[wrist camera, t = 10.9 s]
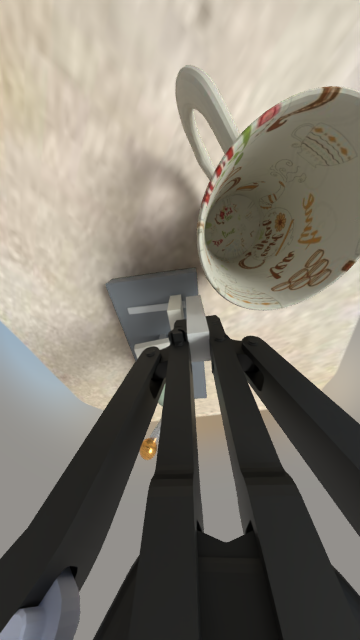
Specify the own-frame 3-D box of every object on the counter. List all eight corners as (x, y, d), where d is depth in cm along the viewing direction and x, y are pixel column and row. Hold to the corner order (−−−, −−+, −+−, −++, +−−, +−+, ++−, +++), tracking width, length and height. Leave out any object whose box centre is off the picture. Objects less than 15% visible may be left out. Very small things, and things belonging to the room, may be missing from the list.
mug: (219, 285, 19) (249, 334, 10) (141, 184, 14) (76, 115, 5) (287, 233, 16) (411, 241, 7) (218, 83, 11) (337, -408, 3)
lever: (168, 394, 25) (134, 449, 19) (180, 399, 24) (147, 460, 18) (170, 402, 26) (138, 456, 20) (182, 407, 25) (151, 466, 19)
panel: (112, 278, 19) (97, 289, 15) (195, 267, 18) (197, 276, 14) (153, 391, 30) (149, 411, 26) (205, 387, 29) (208, 408, 26)
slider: (170, 295, 17) (167, 310, 14) (180, 294, 17) (180, 309, 14) (174, 317, 18) (172, 335, 15) (184, 316, 18) (184, 334, 15)
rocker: (134, 344, 18) (134, 349, 18) (187, 333, 19) (188, 338, 18) (143, 367, 20) (143, 373, 20) (190, 357, 21) (191, 362, 20)
